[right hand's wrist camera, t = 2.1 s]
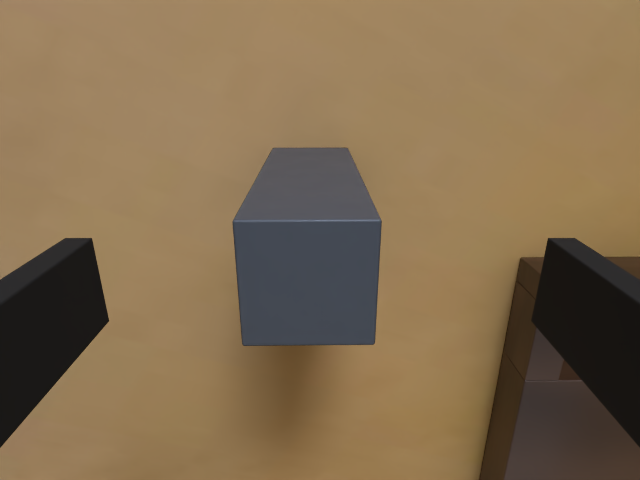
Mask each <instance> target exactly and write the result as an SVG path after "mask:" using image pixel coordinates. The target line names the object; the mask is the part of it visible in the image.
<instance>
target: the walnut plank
mask: <svg viewBox="0 0 640 480" xmlns="http://www.w3.org/2000/svg"><path fill="white" fill-rule="evenodd" d="M605 258H607V259H608V260H610V261H611V262H613V263H614V264H616V265H617V266H619V267H621V268H622V269H624V270H625V271H627V272H628V273H630V274H632V275H633V276H635V277H636V278H638V279H639V280H640V257H605ZM543 261H544V257H535V258H521V260H520V265H519V271H518V276H517V281H516V287H515V292H514V297H513V303H512V308H511V313H510V319H509V324H508V329H507V335H506V340H505V345H504V352H503V357H502V362H501V368H500V373H499V378H498V384H497V389H496V394H495V400H494V405H493V410H492V416H491V421H490V426H489V432H488V437H487V442H486V448H485V453H484V458H483V464H482V469H481V474H480V480H640V447H639V446H638V445H637V444H636V443H635V442H634V440H633V439H632V438H631V437H630V436H629V435H628V433H627V432H626V431H625V430H624V429H623V428H622V426H621V425H620V424H619V423H618V422H617V421H616V419H615V418H614V417H613V416H612V415H611V414H610V412H609V411H608V410H607V409H606V408H605V407H604V405H603V404H602V403H601V402H600V401H599V400H598V398H597V397H596V396H595V395H594V394H593V393H592V391H591V390H590V389H589V388H588V387H587V386H586V384H585V383H584V382H583V381H582V380H581V379H580V378H579V376H578V375H577V374H576V373H575V372H574V371H573V369H572V368H571V367H570V366H569V365H568V364H567V362H566V361H565V360H564V359H563V358H562V357H561V355H560V354H559V353H558V352H557V351H556V350H555V348H554V347H553V346H552V345H551V344H550V343H549V341H548V340H547V339H546V338H545V337H544V336H543V334H542V333H541V332H540V331H539V330H538V329H537V327H536V326H535V325H534V324H533V323H532V322H531V318H532V314H533V309H534V304H535V299H536V294H537V290H538V285H539V280H540V275H541V270H542V265H543Z"/></svg>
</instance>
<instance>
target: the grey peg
mask: <svg viewBox="0 0 640 480" xmlns="http://www.w3.org/2000/svg"><path fill="white" fill-rule="evenodd" d="M381 223H382V221H381V219H380V216H379V214H378V212H377V210H376V208H375V206H374V204H373V201H372V199H371V197H370V195H369V193H368V191H367V188H366V186H365V184H364V182H363V180H362V178H361V176H360V173H359V171H358V169H357V167H356V165H355V163H354V161H353V158H352V156H351V154H350V152H349V150H348V148H273V149H272V151H271V152H270V154H269V156H268V158H267V160H266V162H265V163H264V165H263V167H262V169H261V171H260V172H259V174H258V176H257V178H256V180H255V182H254V183H253V185H252V187H251V189H250V191H249V192H248V194H247V196H246V198H245V200H244V202H243V203H242V205H241V207H240V209H239V211H238V212H237V214H236V216H235V218H234V220H233V233H234V246H235V259H236V272H237V284H238V297H239V310H240V322H241V335H242V344H243V345H244V346H277V345H373V344H374V343H375V331H376V313H377V295H378V277H379V259H380V241H381Z"/></svg>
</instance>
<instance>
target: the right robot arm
mask: <svg viewBox="0 0 640 480" xmlns="http://www.w3.org/2000/svg"><path fill="white" fill-rule="evenodd" d="M108 322H109V318H108V314H107V309H106V304H105V299H104V294H103V290H102V285H101V280H100V275H99V270H98V265H97V261H96V256H95V251H94V246H93V241H92V238H65V239H63V240H62V241H60V242H58V243H57V244H55V245H54V246H52V247H51V248H49V249H48V250H46V251H44V252H43V253H41V254H40V255H38V256H37V257H35V258H33V259H32V260H30V261H29V262H27V263H26V264H24V265H23V266H21V267H19V268H18V269H16V270H15V271H13V272H12V273H10V274H8V275H7V276H5V277H4V278H2V279H1V280H0V447H1V446H2V445H3V444H4V443H5V442H6V440H7V439H8V438H9V437H10V436H11V435H12V433H13V432H14V431H15V430H16V429H17V428H18V426H19V425H20V424H21V423H22V422H23V421H24V419H25V418H26V417H27V416H28V415H29V414H30V412H31V411H32V410H33V409H34V408H35V407H36V405H37V404H38V403H39V402H40V401H41V400H42V398H43V397H44V396H45V395H46V394H47V393H48V391H49V390H50V389H51V388H52V387H53V386H54V384H55V383H56V382H57V381H58V380H59V379H60V378H61V376H62V375H63V374H64V373H65V372H66V371H67V369H68V368H69V367H70V366H71V365H72V364H73V362H74V361H75V360H76V359H77V358H78V357H79V355H80V354H81V353H82V352H83V351H84V350H85V348H86V347H87V346H88V345H89V344H90V343H91V341H92V340H93V339H94V338H95V337H96V336H97V334H98V333H99V332H100V331H101V330H102V329H103V327H104V326H105V325H106V324H107V323H108ZM531 322H532V323H533V324H534V325H535V326H536V327H537V329H538V330H539V331H540V332H541V333H542V334H543V336H544V337H545V338H546V339H547V340H548V341H549V343H550V344H551V345H552V346H553V347H554V348H555V350H556V351H557V352H558V353H559V354H560V355H561V357H562V358H563V359H564V360H565V361H566V362H567V364H568V365H569V366H570V367H571V368H572V369H573V371H574V372H575V373H576V374H577V375H578V376H579V378H580V379H581V380H582V381H583V382H584V383H585V384H586V386H587V387H588V388H589V389H590V390H591V391H592V393H593V394H594V395H595V396H596V397H597V398H598V400H599V401H600V402H601V403H602V404H603V405H604V407H605V408H606V409H607V410H608V411H609V412H610V414H611V415H612V416H613V417H614V418H615V419H616V421H617V422H618V423H619V424H620V425H621V426H622V428H623V429H624V430H625V431H626V432H627V433H628V435H629V436H630V437H631V438H632V439H633V440H634V442H635V443H636V444H637V445H638V446H639V447H640V280H639V279H638V278H636V277H635V276H633V275H632V274H630V273H628V272H627V271H625V270H624V269H622V268H621V267H619V266H617V265H616V264H614V263H613V262H611V261H610V260H608V259H607V258H605V257H603V256H602V255H600V254H599V253H597V252H596V251H594V250H592V249H591V248H589V247H588V246H586V245H585V244H583V243H582V242H580V241H578V240H577V239H575V238H548V241H547V246H546V251H545V256H544V261H543V265H542V270H541V275H540V280H539V285H538V290H537V294H536V299H535V304H534V309H533V314H532V318H531Z"/></svg>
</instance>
